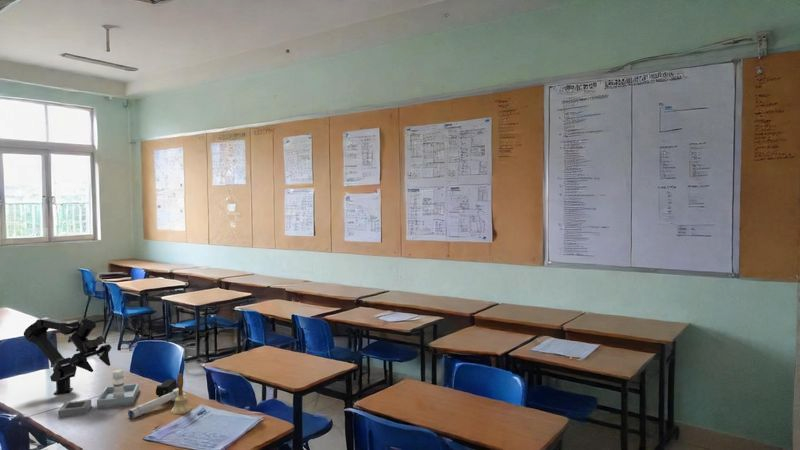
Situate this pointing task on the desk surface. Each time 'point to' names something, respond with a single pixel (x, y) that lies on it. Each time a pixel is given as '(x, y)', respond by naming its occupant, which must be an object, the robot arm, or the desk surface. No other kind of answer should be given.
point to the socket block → (74, 408)
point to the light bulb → (118, 383)
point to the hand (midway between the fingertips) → (101, 368)
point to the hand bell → (180, 399)
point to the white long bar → (153, 404)
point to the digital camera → (166, 387)
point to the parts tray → (109, 401)
